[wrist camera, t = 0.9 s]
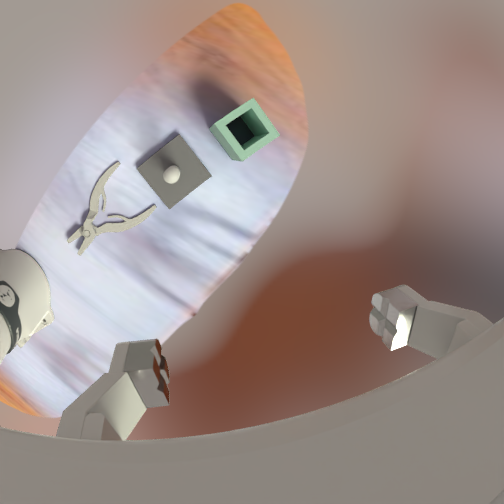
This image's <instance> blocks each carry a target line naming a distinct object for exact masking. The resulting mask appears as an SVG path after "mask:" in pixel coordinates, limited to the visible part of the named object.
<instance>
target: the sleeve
mask: <svg viewBox="0 0 504 504" xmlns="http://www.w3.org/2000/svg"><path fill="white" fill-rule="evenodd" d="M239 116H241V118H242V119H243V121H244V122H245V123H246V125H247V126H248V127H249V129H250V130H251V132H252V133H253V134H254V137H253V138H252V139H250V140H249V141H247V142H246V143H244V144H243V145H241V146H240V144H239V143H238V141H237V140H236V139H235V137H234V136H233V135H232V133H231V132H230V131H229V129H228V128H227V127H226V125H227V124H228V123H230V122H231V121H233V120H234V119H236V118H237V117H239ZM210 131H211V132H212V133H213V135H214V136H215V137H216V139H217V140H218V141H219V143H220V144H221V145H222V147H223V148H224V149H225V151H226V152H227V153H228V155H229V156H230V157H231V159H232V160H236V161H244V160H245V159H246V158H248V157H249V156H251V155H252V154H253V153H255V152H256V151H258V150H259V149H261V148H262V147H263V146H265V145H266V144H268V143H269V142H271V141H272V140H274V139H275V138H277V137H278V136H280V135H279V133H278V132H277V130H276V129H275V127H274V126H273V125H272V123H271V122H270V120H269V119H268V117H267V116H266V115H265V113H264V112H263V110H262V109H261V107H260V106H259V105H258V103H257V102H256V101H255V99H254V98H252V99H251V100H249V101H248V102H246V103H244V104H243V105H241V106H240V107H238V108H237V109H235V110H234V111H232V112H231V113H229V114H228V115H226V116H225V117H223V118H222V119H220V120H219V121H217V122H216V123H214V124H213V125H212V126H211V128H210Z"/></svg>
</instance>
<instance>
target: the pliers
mask: <svg viewBox="0 0 504 504" xmlns="http://www.w3.org/2000/svg"><path fill="white" fill-rule="evenodd" d="M119 165H120V162H117V163H116V164H114V165H113V166H112V167H110V168H109V169H108V170H107V171H106V172H105V173H104V174H103V175H102V177H101V178H100V179H99V181H98V182H97V184H96V186H95V188H94V190H93V193H92V195H91V200H90V211H89V213H88V216H87V218H86V220H85V222H84V225H83V226H81V227H80V228H79V229H78V230H77V231H76V232H75V233H74V234H73V235H72V236H71V237H70V238H69V239H68V240H67V242H68V243H70V242H72V241H74V240H75V239H77V238H79V237H80V236H82V235H83V236H84V237H85V239H84V241H83V243H82V245H81V247H80V249H79V251H78V255H80V256H81V254H82V253H83V252H84V251H85V250H86V248H87V247H88V246H89V245H90V244H91V242H92V241H93V239H94V238H95V236H98V235H99V234H101V233H105V232H121V231H125V230H128V229H130V228H132V227H134V226H136V225H138V224H140V223H141V222H142V221H144V220H145V219H146V218H147V217H148V216H149V215H150V214H151V213H152V212H153V211H154V210H155V209H156V206H155V205H154V206H152V207H151V208H149V209H148V210H146V211H145V212H143V213H142V214H140V215H138V216H137V217H135V218H132V219H129V218H126V217H124V216H121V215H111V216H108V218H112V217H118V218H122V219H123V220H124V221H125V222H121V223H106V224H104V225H102V226H100V227H99V228H98V227H96V226H95V225H93V224H92V222H93V220H94V219H95V217H96V215H97V213H98V206H99V197H100V194H102V196H103V199H104V206H103V212H104V211H105V207H106V195H105V192H104V186H105V184H106V182H107V181H108V179H109V177H110V176H111V175H112V173H113V172H114V171H115V170H116V168H117V167H118V166H119Z"/></svg>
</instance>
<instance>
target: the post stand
mask: <svg viewBox="0 0 504 504" xmlns="http://www.w3.org/2000/svg"><path fill="white" fill-rule="evenodd" d="M137 170H138V171H139V172H140V174H141V175H142V176H143V177H144V179H145V180H146V181H147V182H148V184H149V185H150V186H151V187H152V189H153V190H154V191H155V192H156V194H157V195H158V196H159V197H160V198H161V200H162V201H163V202H164V203H165V205H166V206H167V207H168V208H169V209H171V208H172V207H173V206H174V205H175V204H177V203H178V202H179V201H180V200H182V199H183V198H184V197H185V196H187V195H188V194H189V193H190V192H192V191H193V190H194V189H196V188H197V187H198V186H199V185H201V184H202V183H203V182H205V181H206V180H207V179H209V178H210V177H211V175H210V173H209V172H208V171H207V169H206V168H205V167H204V165H203V164H202V163H201V162H200V160H199V159H198V158H197V156H196V155H195V154H194V152H193V151H192V150H191V148H190V147H189V146H188V145H187V143H186V142H185V141H184V139H183V138H182V137H181V136H180V134H179V135H178V136H177V137H175V138H174V139H173V140H171V141H170V142H169V143H167V144H166V145H165V146H164V147H162V148H161V149H160V150H159V151H157V152H156V153H155V154H154V155H152V156H151V157H150V158H149V159H148V160H146V161H145V162H144V163H143V164H142V165H140V166H139V167H138V168H137Z"/></svg>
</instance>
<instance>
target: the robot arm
mask: <svg viewBox="0 0 504 504" xmlns="http://www.w3.org/2000/svg"><path fill="white" fill-rule="evenodd" d="M372 305H373V306H374V308H373V309H372V311H371V312H370V325H371V328H372V329H373V331H374V332H375V333H376V334H377V335H379V336H382V341H383V342H384V343H385V344H386V346H387V347H388V348H389V349H390V350H394V349H396V348H399V347H402V346H404V345H407V344H408V346H411V347H413V348H415V349H417V350H419V351H422V352H424V353H426V354H428V355H430V356H433V357H435V358H437V360H435V361H434V362H432V363H430V364H428V365H426V366H424V367H422V368H420V369H418V370H416V371H414V372H412V373H410V374H408V375H406V376H404V377H402V378H399V379H397V380H395V381H393V382H390V383H388V384H386V385H384V386H381V387H379V388H377V389H374V390H372V391H369V392H367V393H364V394H362V395H359V396H356V397H354V398H351V399H348V400H345V401H343V402H340V403H337V404H334V405H331V406H328V407H325V408H322V409H319V410H315V411H312V412H309V413H305V414H302V415H298V416H295V417H291V418H287V419H284V420H280V421H275V422H272V423H267V424H263V425H258V426H253V427H249V428H244V429H238V430H233V431H227V432H221V433H214V434H208V435H200V436H191V437H182V438H170V439H155V440H130V441H129V440H126V439H127V437H128V436H129V434H130V433H131V431H132V430H133V428H134V427H135V425H136V424H137V423H138V421H139V420H140V418H141V417H142V415H143V414H144V412H145V411H146V408H150V407H159V406H167V405H169V389H168V387H167V384H168V383H169V382H170V379H169V378H170V376H169V369H168V365H167V361H166V358H165V357H164V356H163V355H161V350H162V347H161V345H160V342H159V340H158V339H150V340H140V341H131V342H121V343H118V344H116V347H115V350H114V354H113V357H112V361H111V365H110V369H109V373H105V374H103V375H102V376H101V377H100V378H99V379H98V380H97V381H96V382H95V383H94V384H92V385H91V386H90V387H89V388H88V389H87V390H86V391H85V392H84V393H83V394H81V395H80V396H79V397H78V398H77V399H76V400H75V401H74V402H73V403H72V404H71V405H69V406H68V407H67V408H66V409H65V410H64V411H63V414H62V417H61V420H60V424H59V427H58V431H57V435H56V437H53V436H47V435H40V434H32V433H28V432H22V431H17V430H12V429H7V428H3V427H0V504H504V318H502V319H501V320H500V321H498V322H497V323H495V324H493V323H491V322H490V321H489V320H488V319H486V318H485V317H484V316H482V315H481V314H480V313H478V312H476V311H471V310H467V309H463V308H459V307H455V306H451V305H447V304H442V303H438V302H434V301H427V300H426V299H424V298H423V297H422V296H421V295H419V294H418V293H417V292H415V291H414V290H412V289H411V288H410V287H408V286H407V285H401V286H398V287H395V288H393V289H390V290H387V291H383V292H380V293H376V294H374V295H373V298H372ZM44 319H45V320H44ZM53 321H54V314H53V311H52V309H51V305H50V288H49V284H48V281H47V278H46V276H45V274H44V272H43V270H42V269H41V267H40V266H39V265H38V263H37V262H36V261H35V260H34V259H33V258H32V257H31V256H29V255H28V254H26V253H25V252H23V251H20V250H16V249H9V250H1V249H0V364H1V362H2V360H3V359H4V357H5V355H7V354H8V353H10V352H11V351H12V350H13V349H14V347H15V346H16V345H18V346H19V347H20V348H21V347H22V346H24V344H25V343H26V342H27V341H28V340H29V339H30V338H31V335H33V334H34V333H36V332H38V331H39V330H41V329H43V328H44V327H46V326H48V325H49V324H51V323H52V322H53Z"/></svg>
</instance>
